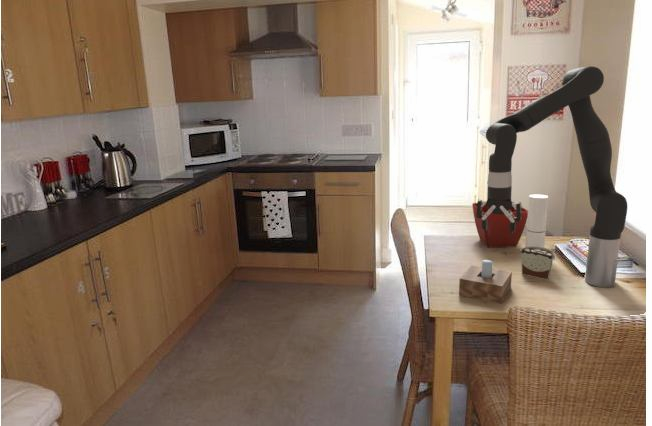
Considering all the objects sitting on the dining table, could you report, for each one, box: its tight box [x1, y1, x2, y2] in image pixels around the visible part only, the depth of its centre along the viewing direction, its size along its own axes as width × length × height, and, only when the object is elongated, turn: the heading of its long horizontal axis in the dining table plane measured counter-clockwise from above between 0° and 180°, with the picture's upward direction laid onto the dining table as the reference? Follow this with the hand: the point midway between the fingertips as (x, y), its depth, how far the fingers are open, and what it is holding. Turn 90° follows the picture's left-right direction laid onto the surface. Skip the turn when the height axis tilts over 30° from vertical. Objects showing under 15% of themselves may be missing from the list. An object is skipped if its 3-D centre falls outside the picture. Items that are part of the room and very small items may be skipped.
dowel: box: [481, 259, 494, 279], centre depth 163 cm, size 3×3×10 cm
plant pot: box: [472, 201, 528, 248], centre depth 212 cm, size 19×19×17 cm
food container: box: [519, 246, 556, 281], centre depth 176 cm, size 12×6×10 cm, turn 47°
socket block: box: [458, 265, 513, 304], centre depth 164 cm, size 14×14×6 cm
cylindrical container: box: [524, 193, 549, 248], centre depth 194 cm, size 7×7×25 cm
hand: (498, 231), depth 161 cm, fingers open, 8 cm apart
